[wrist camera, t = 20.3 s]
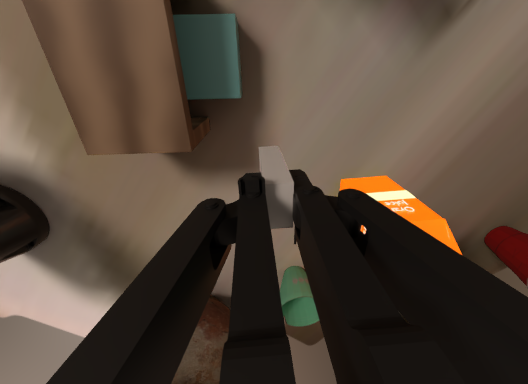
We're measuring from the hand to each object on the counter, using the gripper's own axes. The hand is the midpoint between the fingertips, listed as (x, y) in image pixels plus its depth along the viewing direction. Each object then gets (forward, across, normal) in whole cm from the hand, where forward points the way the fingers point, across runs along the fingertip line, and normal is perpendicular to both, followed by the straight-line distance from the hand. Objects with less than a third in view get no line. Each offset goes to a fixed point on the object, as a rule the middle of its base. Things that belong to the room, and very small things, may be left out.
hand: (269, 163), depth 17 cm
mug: (+21, +9, -37) cm, 44 cm away
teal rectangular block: (+21, -8, +8) cm, 24 cm away
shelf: (+21, -14, +8) cm, 27 cm away
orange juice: (+21, +20, -16) cm, 32 cm away
